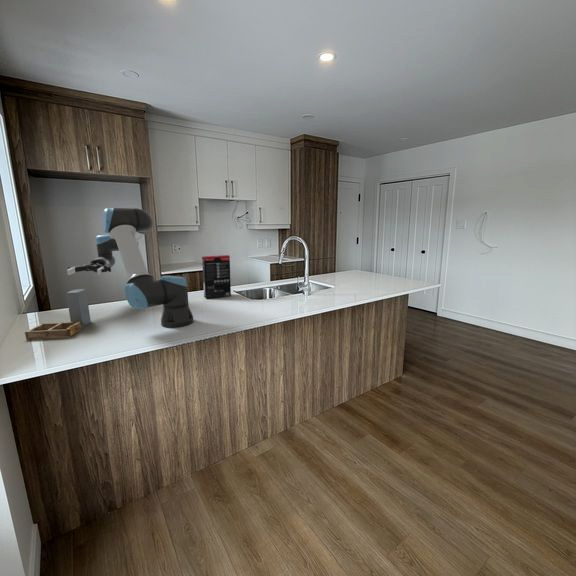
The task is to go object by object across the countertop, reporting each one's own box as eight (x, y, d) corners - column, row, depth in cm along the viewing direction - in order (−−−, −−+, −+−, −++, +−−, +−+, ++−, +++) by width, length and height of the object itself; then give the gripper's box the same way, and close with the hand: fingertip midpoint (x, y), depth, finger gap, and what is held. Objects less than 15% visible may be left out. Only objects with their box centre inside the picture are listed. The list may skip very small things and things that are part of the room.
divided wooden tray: (43, 330, 147) (41, 321, 146) (84, 328, 149) (82, 319, 148) (26, 339, 135) (24, 330, 134) (70, 337, 137) (69, 327, 137)
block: (80, 322, 158) (74, 289, 155) (90, 321, 159) (85, 288, 155) (71, 327, 150) (66, 292, 147) (83, 327, 151) (77, 292, 148)
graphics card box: (228, 294, 216) (226, 254, 210) (232, 296, 210) (230, 255, 204) (203, 297, 208) (200, 256, 202) (206, 299, 202) (203, 257, 196)
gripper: (124, 271, 181) (111, 279, 161) (76, 271, 176) (56, 280, 156) (122, 258, 179) (109, 264, 159) (74, 258, 174) (54, 265, 154)
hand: (83, 272), depth 157 cm, fingers open, 13 cm apart
